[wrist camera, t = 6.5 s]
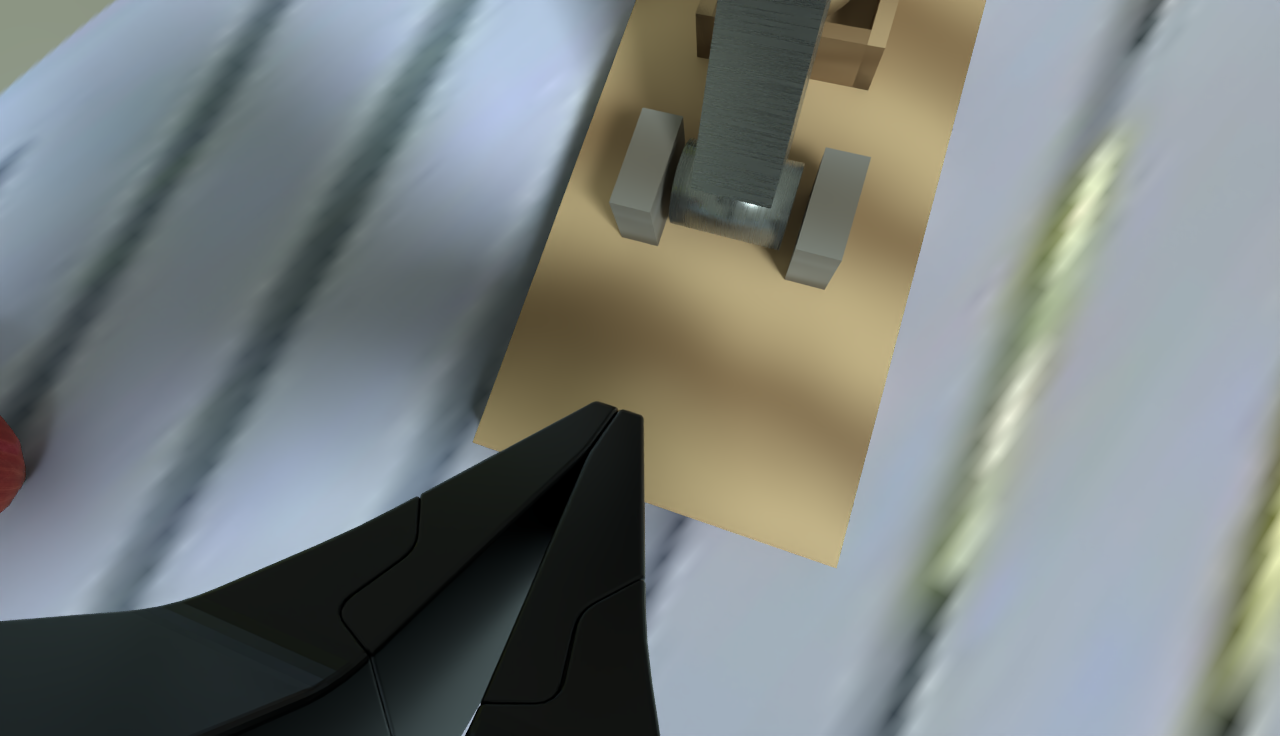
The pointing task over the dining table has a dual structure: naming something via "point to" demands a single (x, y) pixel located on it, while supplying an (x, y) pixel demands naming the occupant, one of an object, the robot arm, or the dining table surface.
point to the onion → (10, 465)
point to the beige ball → (836, 5)
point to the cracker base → (743, 273)
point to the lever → (749, 121)
